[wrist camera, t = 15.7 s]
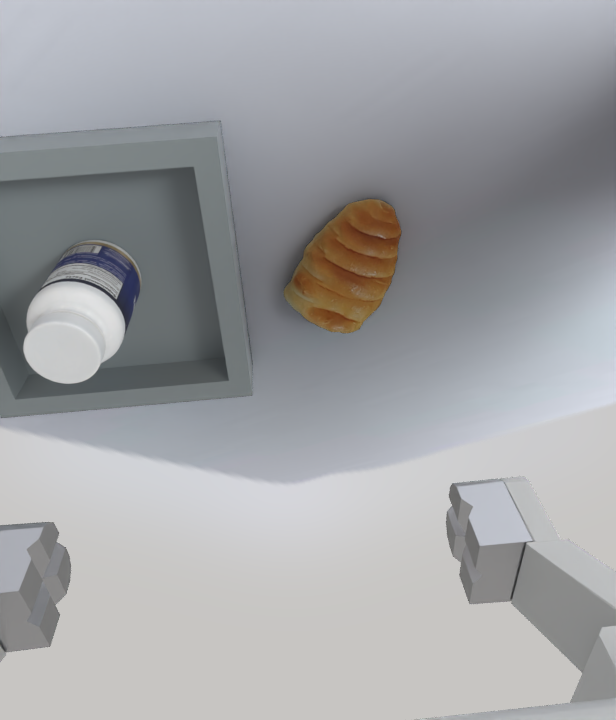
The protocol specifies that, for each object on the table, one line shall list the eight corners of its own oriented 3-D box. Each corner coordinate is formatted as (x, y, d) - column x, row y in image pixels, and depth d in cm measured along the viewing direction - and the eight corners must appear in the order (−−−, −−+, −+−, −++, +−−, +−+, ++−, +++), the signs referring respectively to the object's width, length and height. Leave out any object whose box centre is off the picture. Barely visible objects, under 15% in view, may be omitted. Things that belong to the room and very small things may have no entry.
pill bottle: (124, 322, 41) (92, 409, 33) (49, 288, 39) (-6, 371, 31) (156, 261, 38) (129, 338, 30) (76, 222, 37) (25, 293, 28)
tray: (220, 120, 35) (216, 136, 31) (252, 364, 45) (252, 395, 42) (-83, 143, 34) (-119, 161, 31) (20, 384, 44) (1, 418, 41)
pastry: (334, 175, 37) (342, 194, 34) (421, 215, 39) (436, 236, 36) (277, 294, 42) (280, 320, 39) (358, 324, 44) (367, 351, 41)
